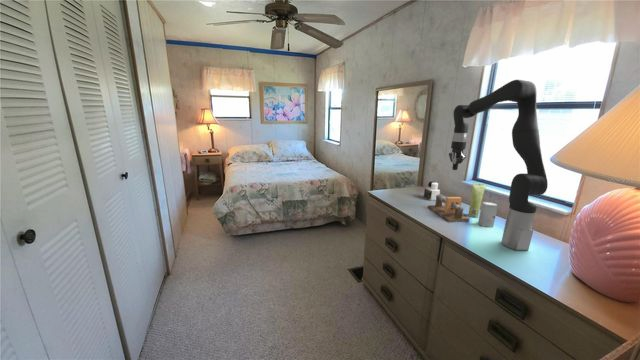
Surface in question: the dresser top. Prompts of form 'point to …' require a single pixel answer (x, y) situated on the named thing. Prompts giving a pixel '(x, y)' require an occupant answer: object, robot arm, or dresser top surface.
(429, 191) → the medicine bottle
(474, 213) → the tube
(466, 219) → the pipe stand
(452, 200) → the collar
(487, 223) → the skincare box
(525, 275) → the dresser top surface
